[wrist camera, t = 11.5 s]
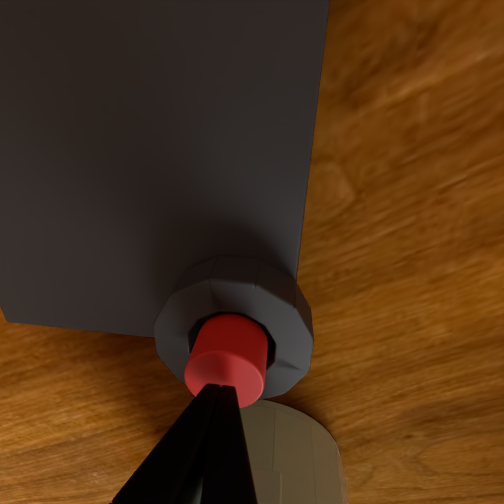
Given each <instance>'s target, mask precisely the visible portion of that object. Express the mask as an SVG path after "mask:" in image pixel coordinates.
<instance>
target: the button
mask: <svg viewBox="0 0 504 504" xmlns="http://www.w3.org/2000/svg"><path fill="white" fill-rule="evenodd" d="M267 350H268V341H267V337H266V335H265V333H264V331H263V329H262V328H261V327H260V326H259V325H258V324H257V323H256V322H254V321H253V320H251V319H249V318H247V317H245V316H242V315H238V314H220V315H217V316H214V317H212V318H210V319H209V320H207V321H206V322H205V323H204V324H203V325H202V327H201V328H200V331H199V333H198V336H197V339H196V341H195V344H194V347H193V349H192V352H191V354H190V357H189V360H188V362H187V365H186V367H185V371H184V378H185V382H186V385H187V387H188V389H189V390H190V391H191V393H192V394H193V395H194V396H195V397H196V395H197V394H198V393H199V392H200V390H201V389H202V388H203V387H204V386H205V385H206V384H207V383H212V384H219V385H220V386H222V385H229V386H235V388H236V391H237V396H238V402H239V407H240V408H243V407H246V406H248V405H251V404H252V403H254V402H255V401H256V400H257V399H258V398H259V397H260V396H261V394H262V392H263V390H264V385H265V373H266V362H267Z"/></svg>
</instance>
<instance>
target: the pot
mask: <svg viewBox="0 0 504 504" xmlns="http://www.w3.org/2000/svg"><path fill="white" fill-rule="evenodd" d="M240 412H241V418H242V423H243V428H244V433H245V439H246V444H247V449H248V454H249V460H250V465H251V470H252V476H253V481H254V486H255V491H256V497H257V502H258V504H349V500H348V493H347V486H346V479H345V473H344V466H343V463H342V461H341V456H340V452H339V448H338V446H337V444H336V442H335V440H334V439H333V437H332V436H331V435H330V433H329V432H328V431H327V430H326V429H325V428H324V427H323V426H322V425H321V424H319V423H318V422H317V421H315V420H314V419H313V418H311V417H309V416H308V415H306V414H304V413H302V412H300V411H298V410H296V409H294V408H291V407H288V406H285V405H283V404H279V403H275V402H271V401H267V400H259V401H255V402H254V403H252V404H251V405H248V406H246V407H243V408H240Z"/></svg>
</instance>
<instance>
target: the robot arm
mask: <svg viewBox="0 0 504 504" xmlns="http://www.w3.org/2000/svg"><path fill="white" fill-rule="evenodd" d="M109 504H258V502H257V497H256V491H255V486H254V481H253V476H252V470H251V465H250V460H249V454H248V449H247V444H246V439H245V433H244V428H243V423H242V418H241V412H240V407H239V402H238V396H237V391H236V388H235V386H229V385H222V386H220V385H219V384H212V383H207V384H206V385H205V386H204V387H203V388H202V389H201V390H200V392H199V393H198V394H197V395H196V397H195V398H194V399H193V400H192V402H191V403H190V404H189V405H188V407H187V408H186V409H185V410H184V412H183V413H182V414H181V415H180V416H179V418H178V419H177V420H176V421H175V423H174V424H173V425H172V426H171V428H170V429H169V430H168V431H167V433H166V434H165V435H164V436H163V438H162V439H161V440H160V441H159V442H158V444H157V445H156V446H155V447H154V449H153V450H152V451H151V452H150V454H149V455H148V456H147V457H146V459H145V460H144V461H143V462H142V464H141V465H140V466H139V467H138V468H137V470H136V471H135V472H134V473H133V475H132V476H131V477H130V478H129V480H128V481H127V482H126V483H125V485H124V486H123V487H122V488H121V490H120V491H119V492H118V493H117V494H116V496H115V497H114V498H113V500H112V503H109Z"/></svg>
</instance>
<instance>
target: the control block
mask: <svg viewBox="0 0 504 504" xmlns="http://www.w3.org/2000/svg"><path fill="white" fill-rule="evenodd" d="M329 3H330V0H0V306H1V309H2V311H3V313H4V316H5V318H6V321H7V322H13V323H22V324H32V325H41V326H50V327H60V328H69V329H79V330H88V331H97V332H107V333H116V334H126V335H135V336H145V337H154V338H155V344H156V351H157V355H159V357H160V359H161V360H162V361H163V362H164V363H165V365H166V366H167V367H168V368H169V369H170V371H171V372H172V373H173V374H174V375H175V377H176V378H177V379H178V380H179V381H180V382H181V383H183V384H185V385H186V382H185V378H184V371H185V367H186V365H187V362H188V360H189V357H190V354H191V352H192V349H193V347H194V344H195V341H196V339H197V336H198V333H199V331H200V328H201V327H202V325H203V324H204V323H205V322H206V321H207V320H209V319H210V318H212V317H214V316H217V315H220V314H238V315H242V316H245V317H247V318H249V319H251V320H253V321H254V322H256V323H257V324H258V325H259V326H260V327H261V328H262V329H263V331H264V333H265V335H266V337H267V341H268V350H267V362H266V373H265V385H264V390H263V392H262V394H261V396H260V397H259V398H258V399H257V400H256V401H259V400H263V399H266V398H270V397H274V396H278V395H282V394H283V393H286V392H287V391H288V390H289V389H290V388H292V387H293V386H294V385H295V384H296V383H297V382H298V381H299V380H300V379H301V378H302V377H303V376H305V375H306V374H307V373H308V371H309V368H310V362H311V356H312V350H313V344H314V335H313V325H312V315H311V309H310V307H309V305H308V303H307V301H306V299H305V298H304V296H303V294H302V292H301V290H300V288H299V286H298V284H297V283H296V278H297V270H298V261H299V253H300V245H301V236H302V228H303V220H304V211H305V203H306V195H307V186H308V178H309V170H310V161H311V153H312V145H313V136H314V128H315V120H316V111H317V103H318V95H319V86H320V78H321V69H322V61H323V53H324V44H325V36H326V28H327V19H328V11H329Z"/></svg>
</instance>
